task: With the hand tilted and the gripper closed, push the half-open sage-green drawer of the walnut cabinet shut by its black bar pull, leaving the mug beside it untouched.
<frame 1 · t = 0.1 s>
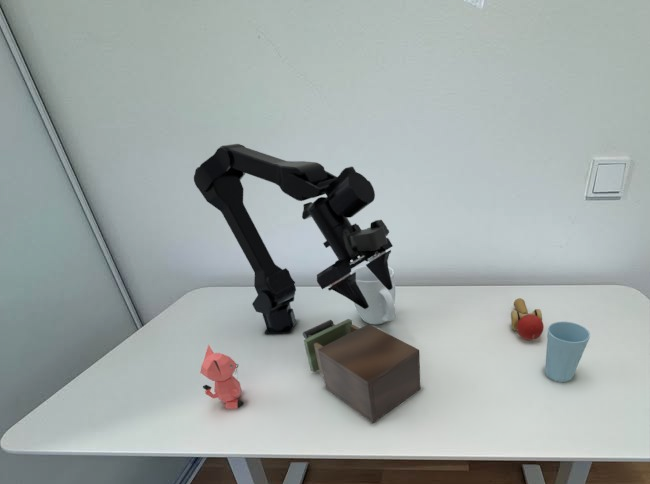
hand: (379, 298, 75), 15 cm above the table, tool tilted 35°, fingers open, 9 cm apart
mug: (378, 320, 98), on the table
cabinet: (372, 388, 75), on the table
cat figurine: (231, 402, 72), on the table
kendama: (523, 325, 94), on the table
cup: (558, 374, 77), on the table
drawer: (342, 352, 77), point 5 cm above the table, slide at 5.0 cm
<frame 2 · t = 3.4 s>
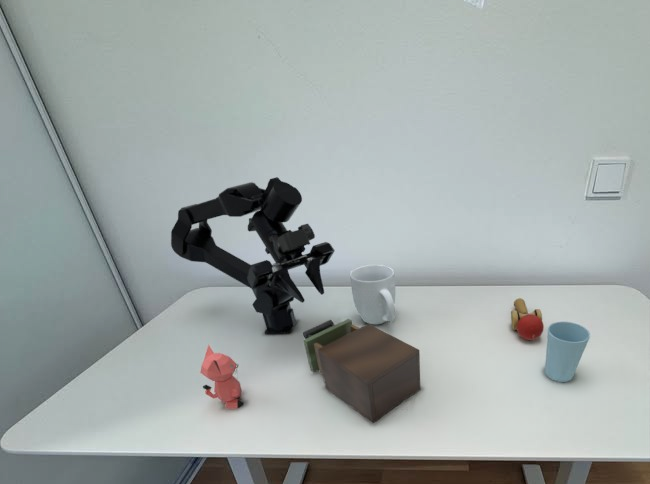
hand: (313, 297, 79), 14 cm above the table, tool tilted 45°, fingers open, 5 cm apart
nothing on the table moved.
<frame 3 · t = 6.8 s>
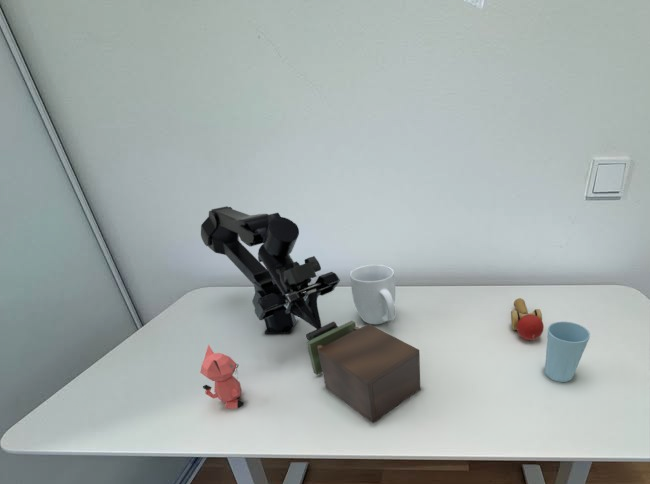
hand: (319, 328, 80), 8 cm above the table, tool tilted 45°, fingers closed, pressing on drawer
drawer: (346, 354, 76), point 5 cm above the table, slide at 3.8 cm, touching gripper
everything else where it was.
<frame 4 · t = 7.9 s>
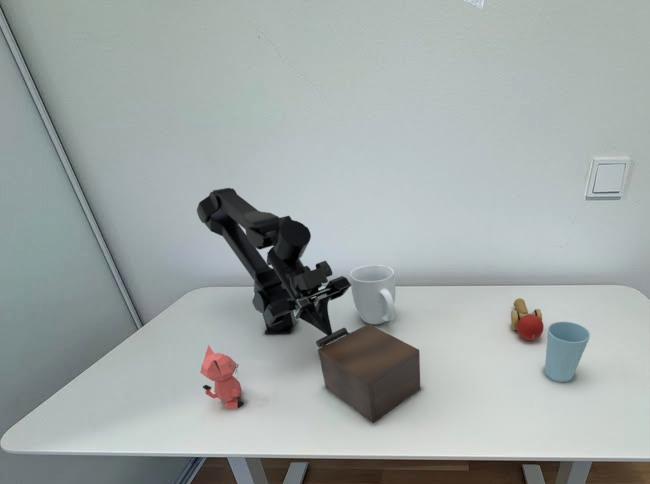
hand: (330, 334, 78), 8 cm above the table, tool tilted 45°, fingers closed, pressing on drawer
drawer: (357, 361, 74), point 5 cm above the table, slide at 0.0 cm, touching cabinet, gripper
everything else where it was.
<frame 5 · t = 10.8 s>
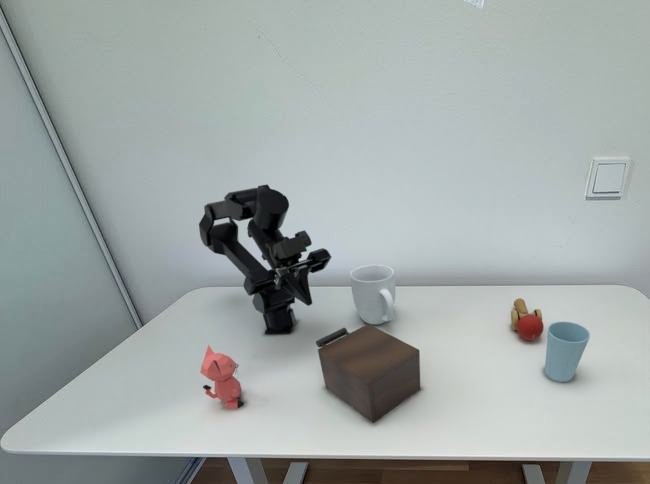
hand: (310, 304, 79), 13 cm above the table, tool tilted 45°, fingers closed
drawer: (357, 361, 74), point 5 cm above the table, slide at 0.0 cm, touching cabinet
everything else where it was.
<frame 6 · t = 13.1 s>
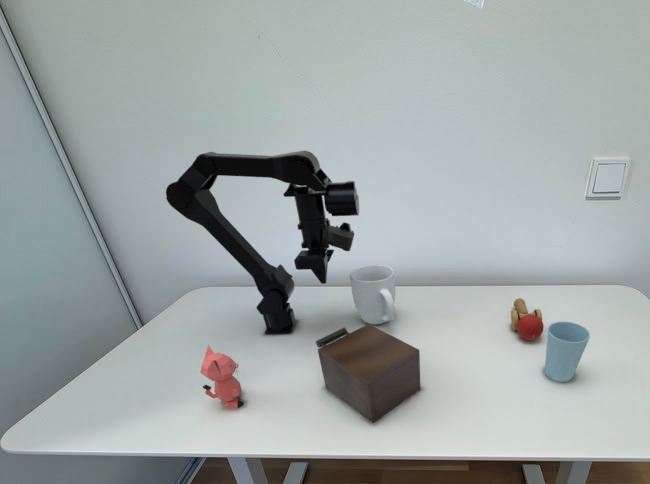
hand: (324, 283, 89), 12 cm above the table, tool pointing down, fingers closed
nothing on the table moved.
at the end: drawer slide at 0.0 cm; mug moved 0.2 cm from its start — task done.
